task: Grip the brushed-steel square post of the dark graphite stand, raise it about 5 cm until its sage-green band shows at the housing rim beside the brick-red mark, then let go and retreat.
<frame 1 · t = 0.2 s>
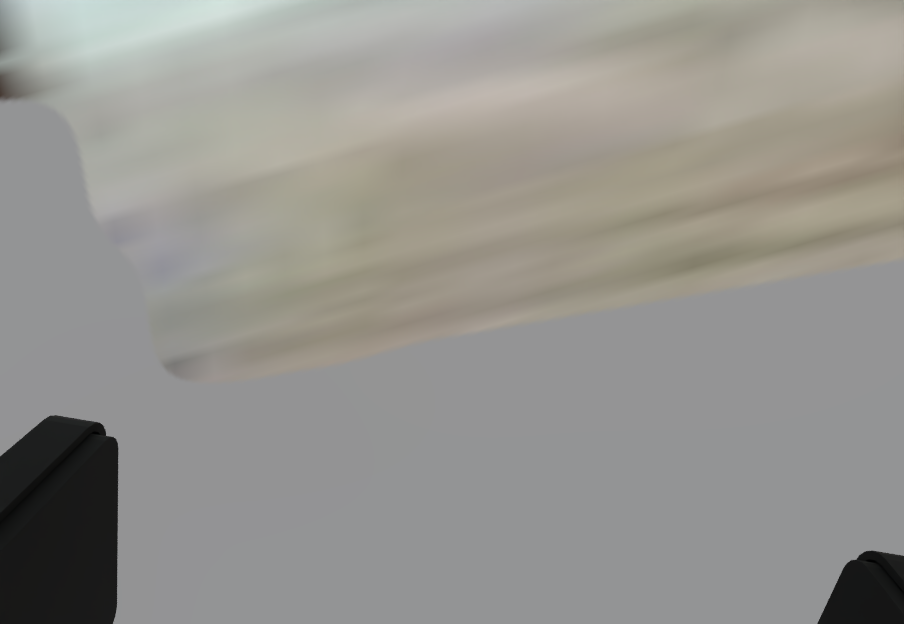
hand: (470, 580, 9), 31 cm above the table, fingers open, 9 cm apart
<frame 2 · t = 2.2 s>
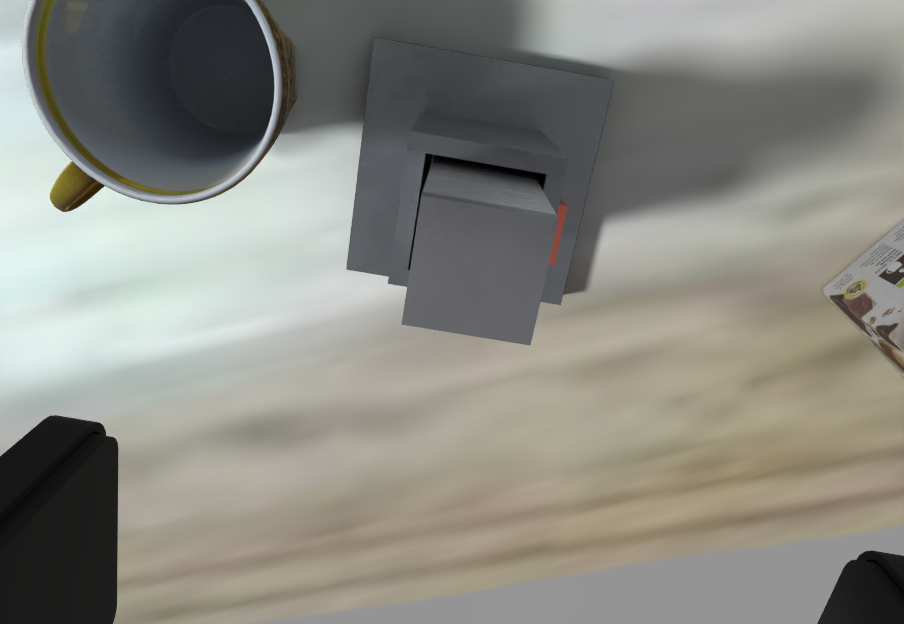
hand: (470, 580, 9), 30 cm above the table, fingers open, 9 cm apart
steel post: (475, 214, 28), point 10 cm above the table, slide at 0.0 cm
ceramic cup: (218, 91, 36), on the table
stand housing: (473, 175, 37), on the table
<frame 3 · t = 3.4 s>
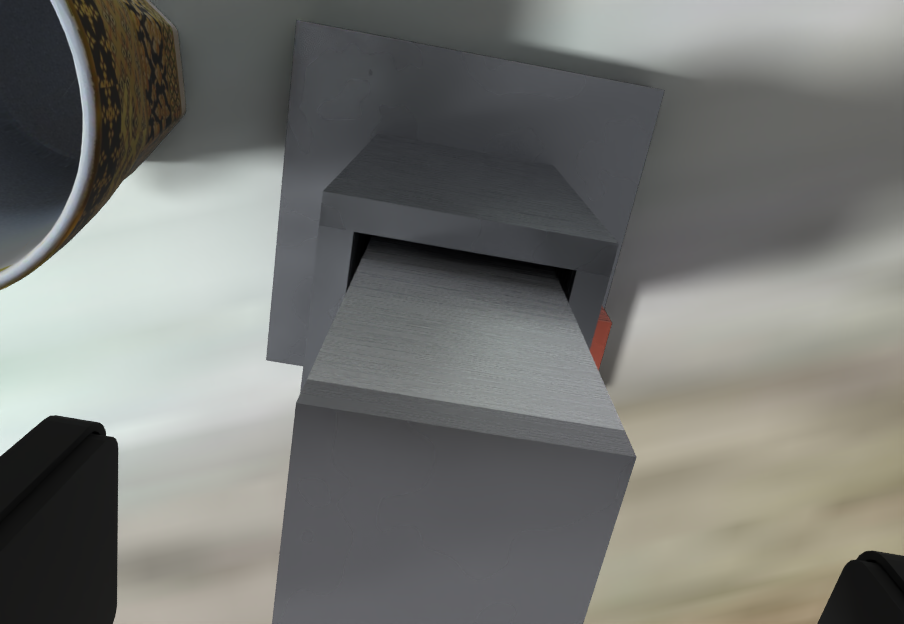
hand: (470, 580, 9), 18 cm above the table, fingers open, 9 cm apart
steel post: (447, 326, 16), point 10 cm above the table, slide at 0.0 cm
ceramic cup: (70, 99, 24), on the table
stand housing: (451, 224, 25), on the table
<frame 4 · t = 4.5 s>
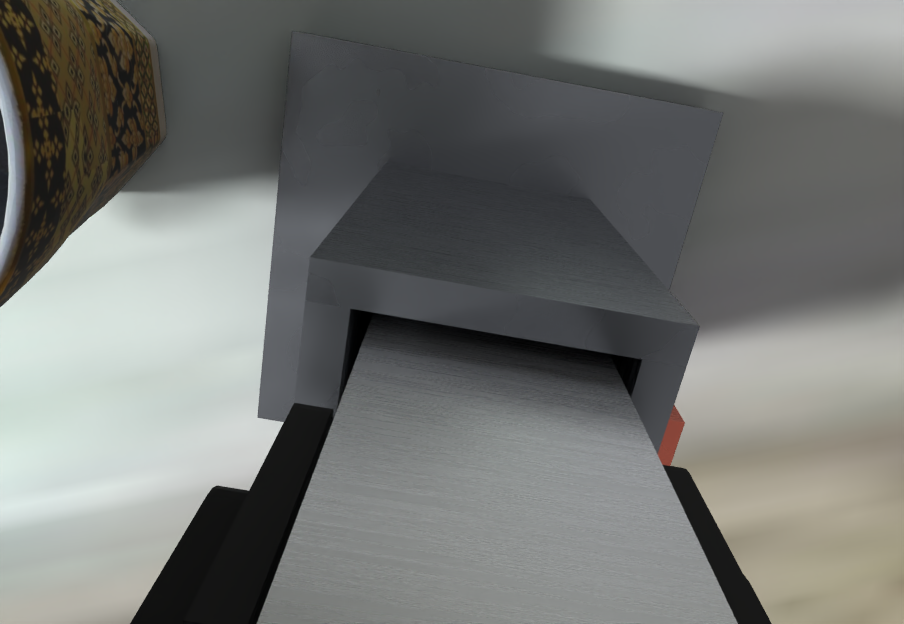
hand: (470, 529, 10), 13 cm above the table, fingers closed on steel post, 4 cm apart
steel post: (470, 415, 13), point 10 cm above the table, slide at 0.0 cm, touching gripper
ceramic cup: (35, 121, 21), on the table
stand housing: (469, 264, 22), on the table
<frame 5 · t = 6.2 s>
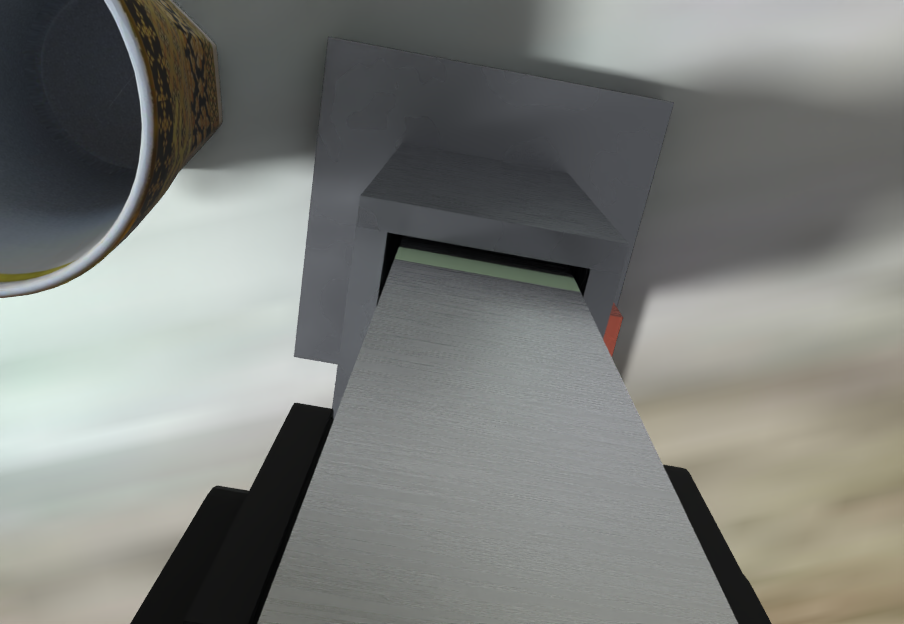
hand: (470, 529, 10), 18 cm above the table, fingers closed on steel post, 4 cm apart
steel post: (470, 415, 13), point 15 cm above the table, slide at 4.9 cm, touching gripper
ceramic cup: (114, 110, 26), on the table
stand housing: (470, 229, 27), on the table
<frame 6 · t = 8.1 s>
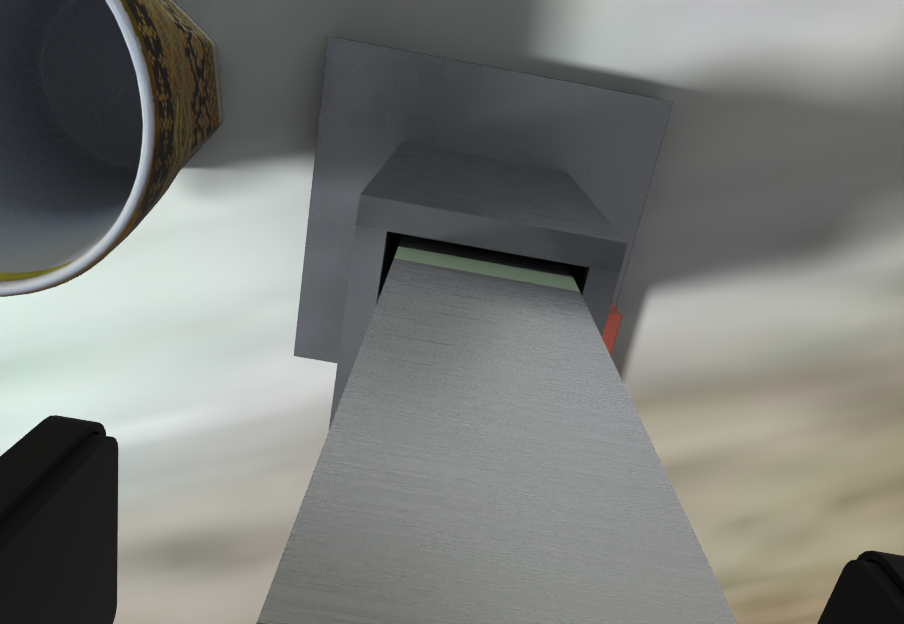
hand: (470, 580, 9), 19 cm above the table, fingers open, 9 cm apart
steel post: (470, 415, 13), point 15 cm above the table, slide at 5.0 cm
ceramic cup: (114, 110, 26), on the table
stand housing: (469, 228, 27), on the table
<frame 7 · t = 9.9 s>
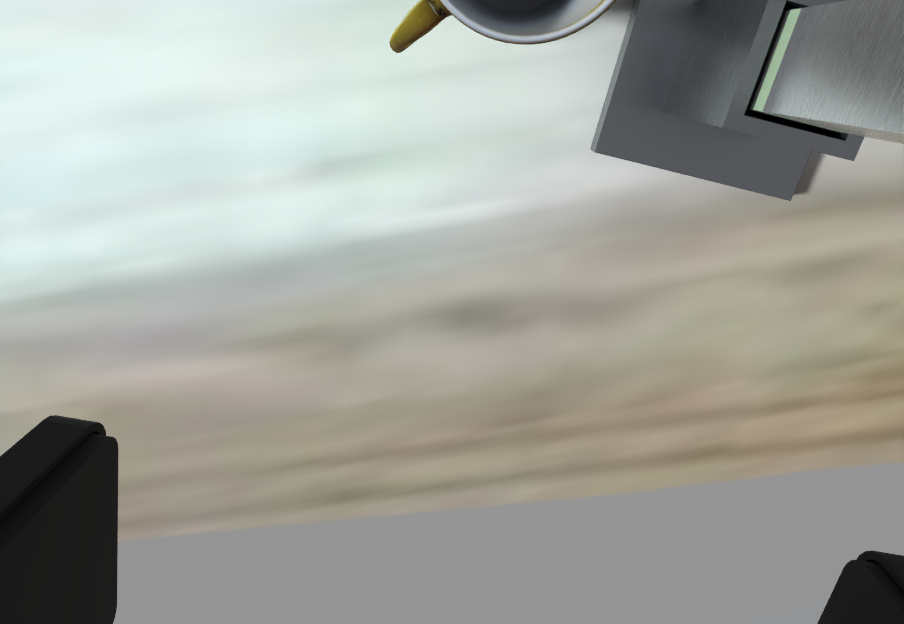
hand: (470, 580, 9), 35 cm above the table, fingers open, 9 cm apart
steel post: (861, 73, 25), point 15 cm above the table, slide at 5.0 cm
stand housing: (722, 70, 39), on the table
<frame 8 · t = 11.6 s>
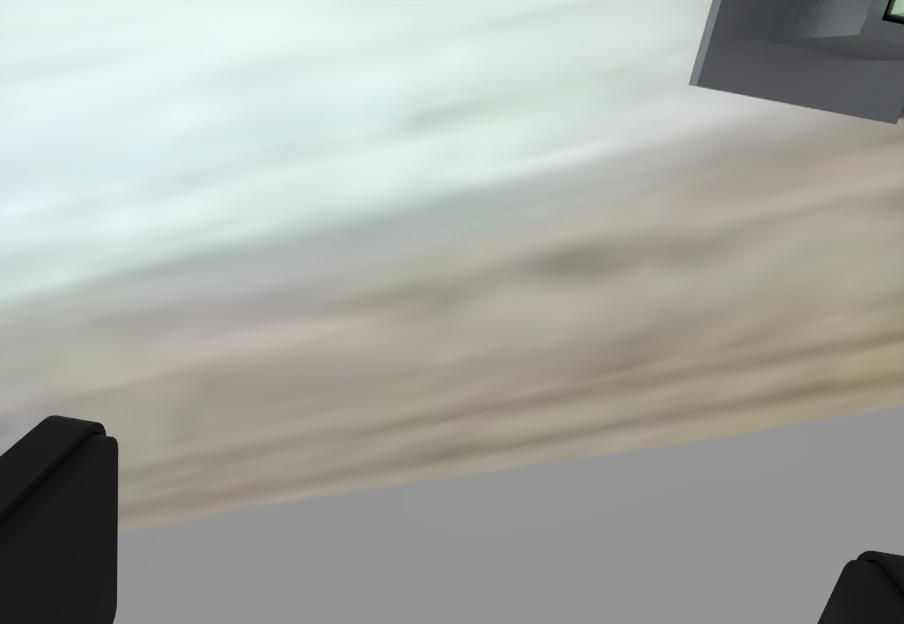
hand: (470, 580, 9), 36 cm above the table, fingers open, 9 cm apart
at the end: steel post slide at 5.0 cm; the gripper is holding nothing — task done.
